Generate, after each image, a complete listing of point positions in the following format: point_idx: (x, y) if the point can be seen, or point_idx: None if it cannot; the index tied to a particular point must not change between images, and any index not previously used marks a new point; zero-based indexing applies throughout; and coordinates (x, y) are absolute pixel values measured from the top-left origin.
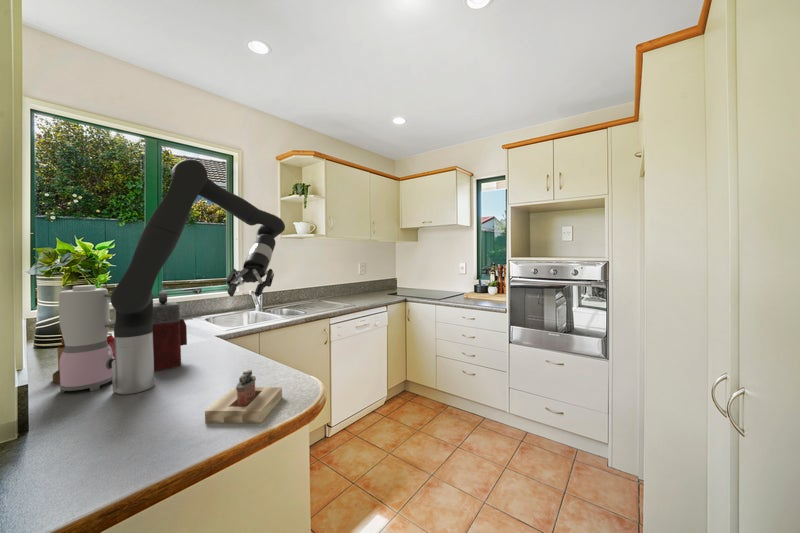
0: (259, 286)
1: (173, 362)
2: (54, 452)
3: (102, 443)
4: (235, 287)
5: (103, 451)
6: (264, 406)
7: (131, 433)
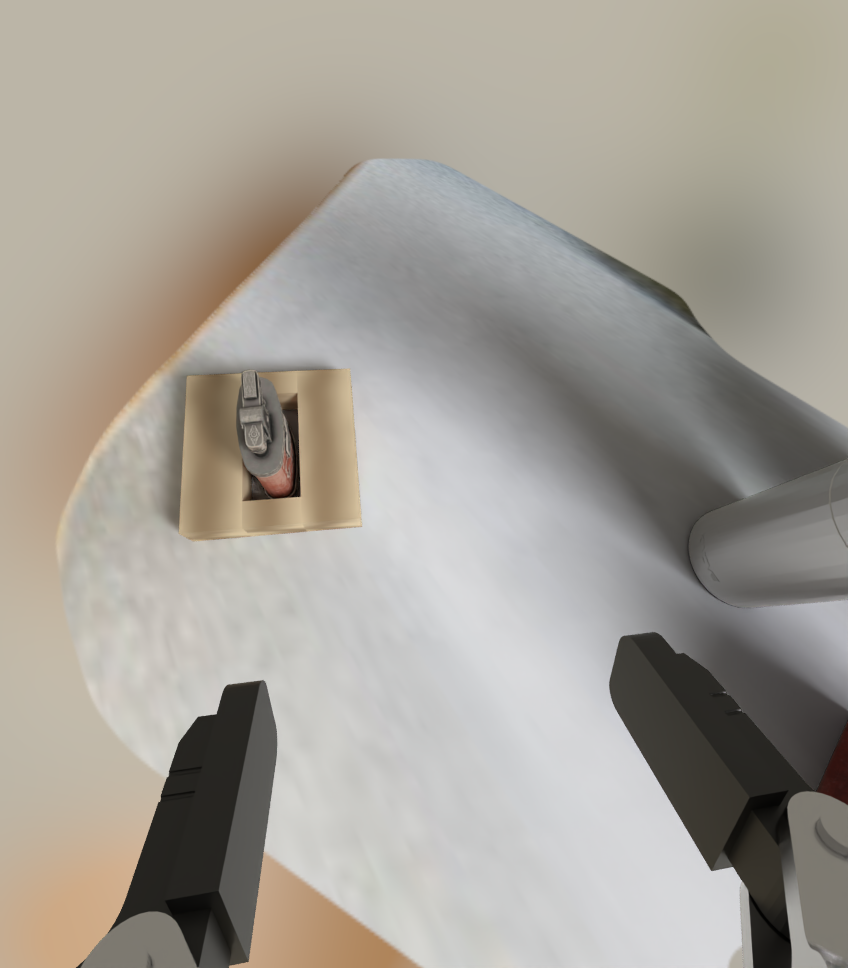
0: (187, 840)
1: (844, 787)
2: (567, 280)
3: (510, 306)
4: (710, 826)
5: (479, 285)
6: (187, 399)
7: (487, 338)
